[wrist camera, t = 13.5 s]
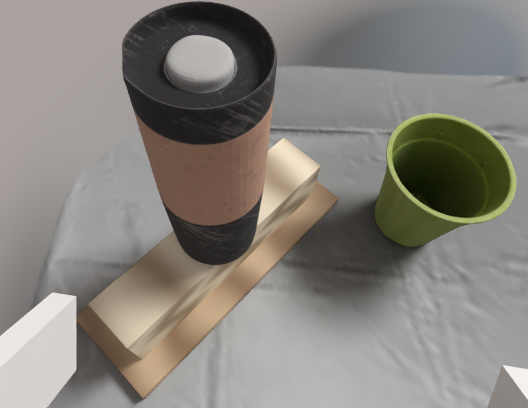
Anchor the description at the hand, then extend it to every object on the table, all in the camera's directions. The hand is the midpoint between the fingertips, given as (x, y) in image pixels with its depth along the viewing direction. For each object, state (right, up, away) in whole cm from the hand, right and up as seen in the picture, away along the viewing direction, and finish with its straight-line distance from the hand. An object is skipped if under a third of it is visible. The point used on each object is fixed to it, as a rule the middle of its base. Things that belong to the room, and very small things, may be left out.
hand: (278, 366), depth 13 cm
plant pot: (+16, +3, +34) cm, 38 cm away
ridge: (-5, -1, +30) cm, 31 cm away
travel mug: (-5, +3, +24) cm, 25 cm away
